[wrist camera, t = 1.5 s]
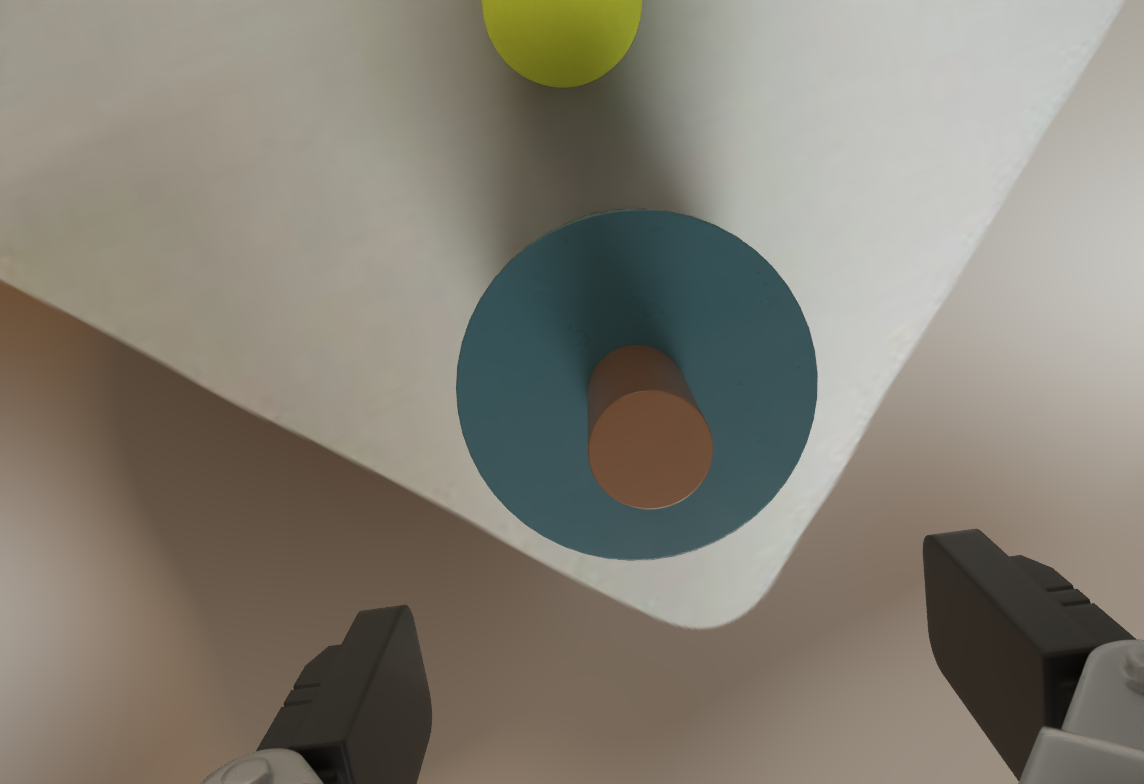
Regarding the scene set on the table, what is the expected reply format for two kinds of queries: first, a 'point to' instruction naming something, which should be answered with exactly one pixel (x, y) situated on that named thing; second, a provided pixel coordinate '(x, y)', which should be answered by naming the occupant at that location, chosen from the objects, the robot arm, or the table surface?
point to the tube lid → (636, 384)
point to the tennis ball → (562, 37)
